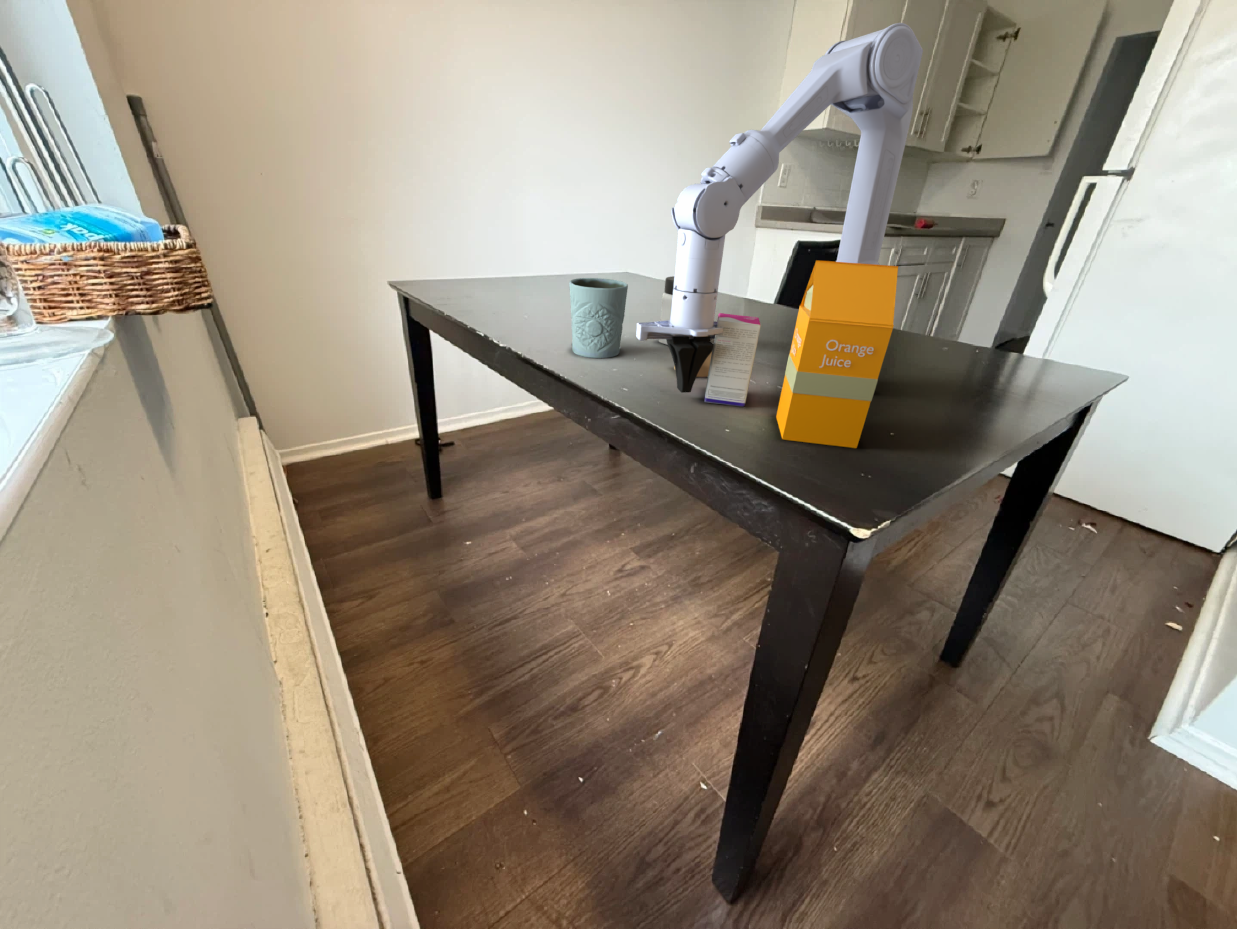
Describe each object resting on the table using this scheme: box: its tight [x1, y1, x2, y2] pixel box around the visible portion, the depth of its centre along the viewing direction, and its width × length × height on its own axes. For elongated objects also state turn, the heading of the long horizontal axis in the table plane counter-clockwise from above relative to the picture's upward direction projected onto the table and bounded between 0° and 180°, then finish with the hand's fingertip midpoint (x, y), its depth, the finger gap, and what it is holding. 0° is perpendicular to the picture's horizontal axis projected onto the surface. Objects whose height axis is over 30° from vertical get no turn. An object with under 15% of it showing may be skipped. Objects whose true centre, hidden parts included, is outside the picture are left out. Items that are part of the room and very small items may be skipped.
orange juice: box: [775, 259, 899, 449], centre depth 60 cm, size 8×9×20 cm
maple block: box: [673, 352, 712, 378], centre depth 83 cm, size 4×4×4 cm
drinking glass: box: [568, 277, 629, 359], centre depth 89 cm, size 10×10×12 cm
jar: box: [658, 275, 675, 346], centre depth 98 cm, size 9×8×12 cm
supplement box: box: [704, 312, 762, 407], centre depth 71 cm, size 6×6×12 cm
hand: (683, 390), depth 71 cm, fingers closed
